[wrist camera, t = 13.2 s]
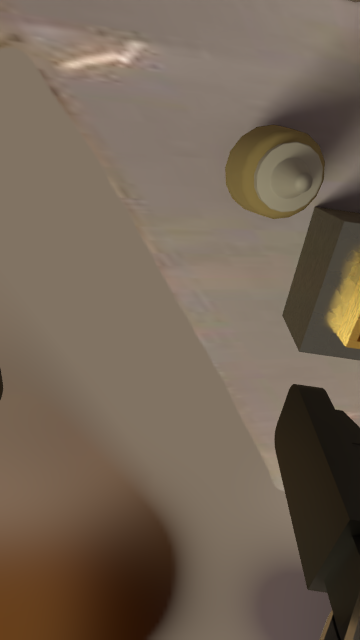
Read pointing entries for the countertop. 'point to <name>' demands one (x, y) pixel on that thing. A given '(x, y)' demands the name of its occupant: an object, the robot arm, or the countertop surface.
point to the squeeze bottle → (275, 171)
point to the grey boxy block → (327, 287)
